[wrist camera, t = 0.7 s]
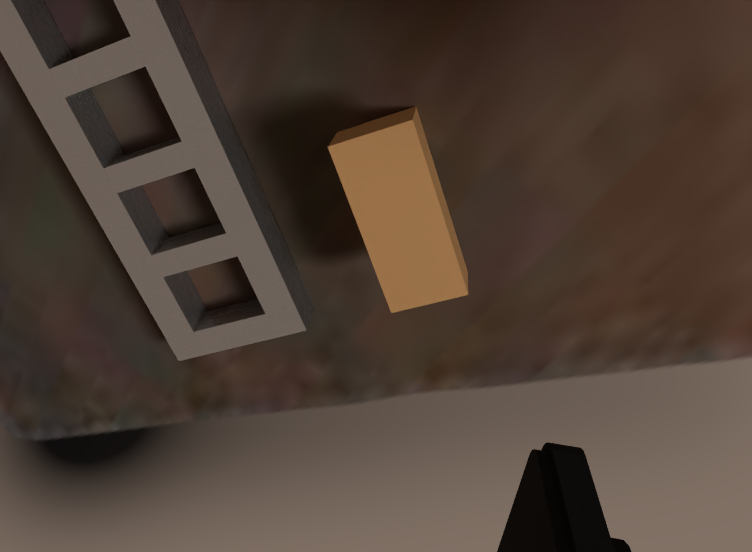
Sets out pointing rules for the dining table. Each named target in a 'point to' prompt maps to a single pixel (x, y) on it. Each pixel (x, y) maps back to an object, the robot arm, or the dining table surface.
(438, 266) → the tan rectangular block
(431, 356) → the dining table surface
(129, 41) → the grey slotted tray
